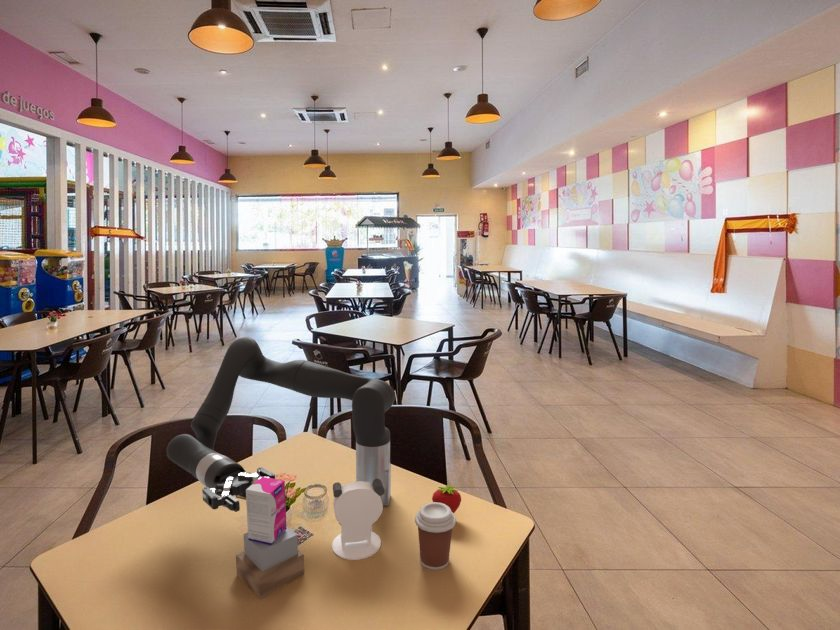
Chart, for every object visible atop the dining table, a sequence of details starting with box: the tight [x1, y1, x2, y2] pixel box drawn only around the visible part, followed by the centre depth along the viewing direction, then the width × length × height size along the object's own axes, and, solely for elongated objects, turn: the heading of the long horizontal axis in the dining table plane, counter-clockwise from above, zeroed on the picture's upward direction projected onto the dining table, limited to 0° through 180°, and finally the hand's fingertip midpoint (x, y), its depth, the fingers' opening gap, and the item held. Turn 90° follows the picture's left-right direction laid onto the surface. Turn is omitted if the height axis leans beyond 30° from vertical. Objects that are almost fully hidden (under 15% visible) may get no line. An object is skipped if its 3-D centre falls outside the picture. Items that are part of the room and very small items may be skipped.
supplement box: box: [245, 477, 287, 545], centre depth 99 cm, size 6×6×12 cm
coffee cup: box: [414, 501, 457, 571], centre depth 106 cm, size 9×9×12 cm
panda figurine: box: [331, 479, 385, 561], centre depth 111 cm, size 12×11×15 cm
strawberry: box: [431, 481, 462, 514], centre depth 123 cm, size 6×8×10 cm
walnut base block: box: [235, 549, 305, 600], centre depth 101 cm, size 10×10×5 cm
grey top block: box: [243, 525, 299, 572], centre depth 100 cm, size 8×8×4 cm
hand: (257, 498), depth 98 cm, fingers open, 8 cm apart
